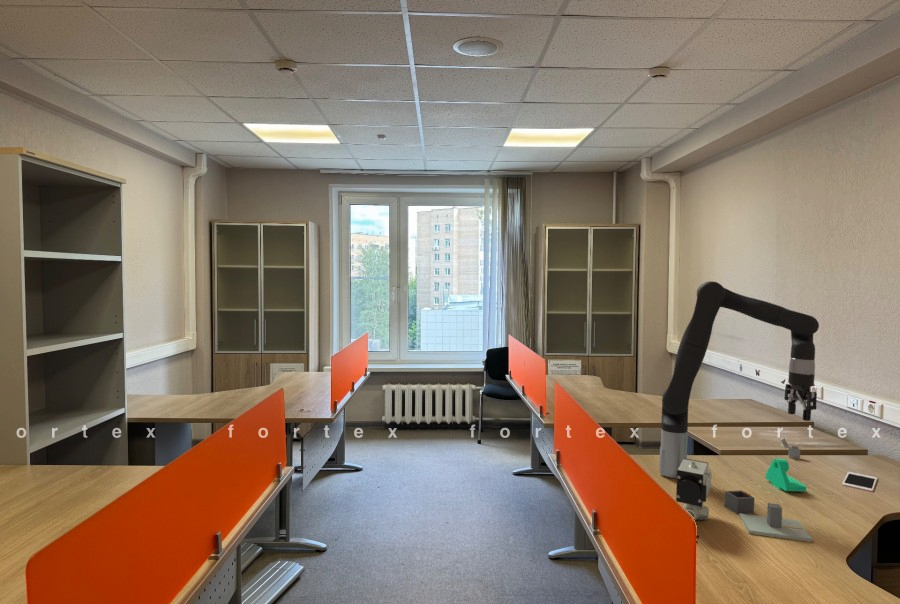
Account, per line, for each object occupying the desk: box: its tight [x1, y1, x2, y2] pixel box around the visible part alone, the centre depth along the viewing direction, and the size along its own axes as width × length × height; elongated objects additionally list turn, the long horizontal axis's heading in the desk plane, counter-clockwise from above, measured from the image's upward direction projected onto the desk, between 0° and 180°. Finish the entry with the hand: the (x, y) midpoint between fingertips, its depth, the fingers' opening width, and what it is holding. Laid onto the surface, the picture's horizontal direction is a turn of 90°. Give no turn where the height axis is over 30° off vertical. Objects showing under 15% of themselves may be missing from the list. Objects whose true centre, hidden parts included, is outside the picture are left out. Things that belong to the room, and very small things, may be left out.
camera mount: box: [765, 458, 807, 492], centre depth 192 cm, size 12×8×10 cm, turn 0°
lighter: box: [780, 437, 801, 460], centre depth 224 cm, size 7×2×8 cm, turn 59°
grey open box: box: [724, 490, 755, 515], centre depth 172 cm, size 6×6×5 cm
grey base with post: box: [739, 502, 813, 543], centre depth 159 cm, size 16×12×7 cm
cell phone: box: [841, 471, 878, 493], centre depth 198 cm, size 9×18×1 cm, turn 137°
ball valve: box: [675, 458, 712, 521], centre depth 165 cm, size 18×8×18 cm, turn 148°
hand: (798, 417), depth 186 cm, fingers open, 8 cm apart
